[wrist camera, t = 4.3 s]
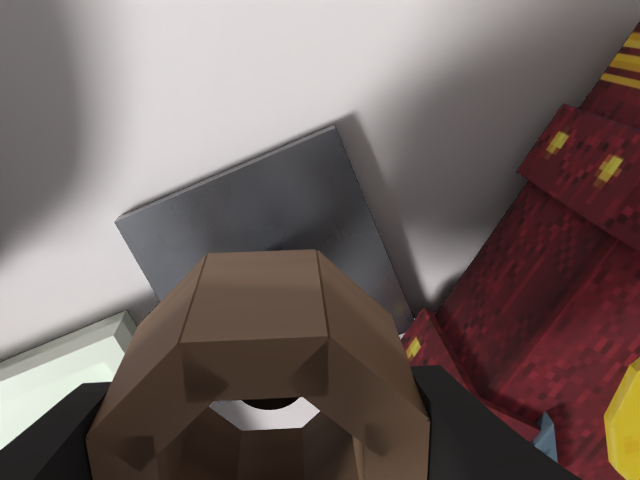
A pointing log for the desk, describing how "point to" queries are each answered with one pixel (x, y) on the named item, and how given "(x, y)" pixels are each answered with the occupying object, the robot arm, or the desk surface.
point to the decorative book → (560, 291)
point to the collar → (263, 379)
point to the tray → (59, 371)
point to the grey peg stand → (269, 223)
